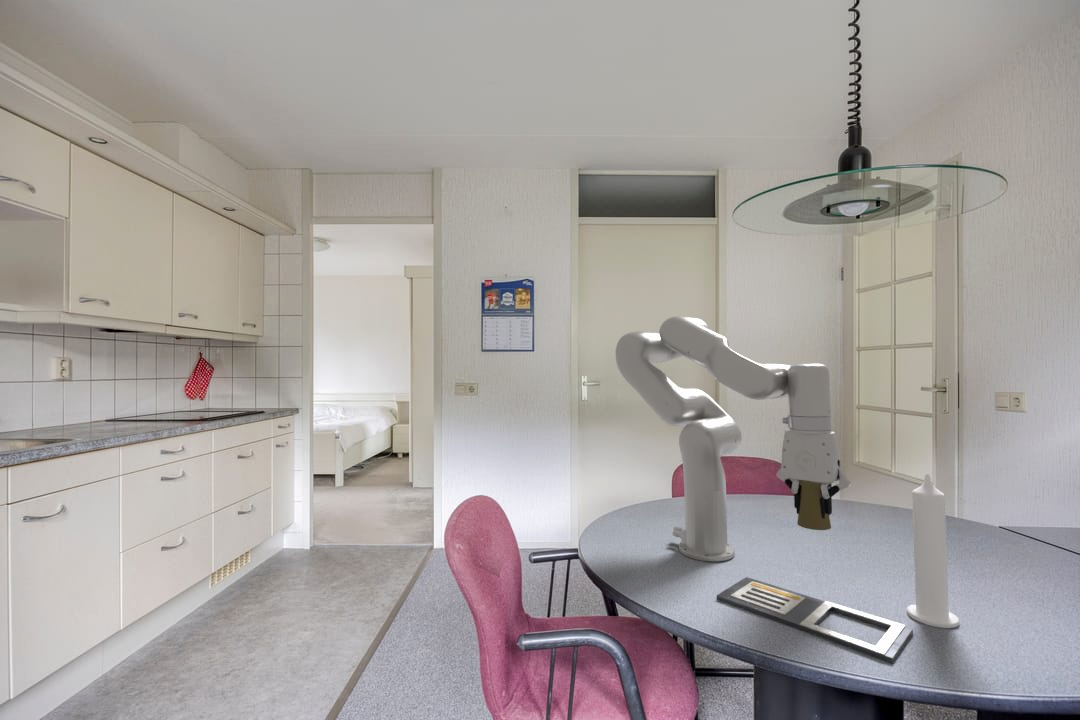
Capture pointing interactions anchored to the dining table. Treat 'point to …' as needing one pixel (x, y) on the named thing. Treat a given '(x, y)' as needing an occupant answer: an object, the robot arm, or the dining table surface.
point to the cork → (812, 507)
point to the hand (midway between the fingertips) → (813, 513)
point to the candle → (930, 558)
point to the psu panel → (814, 616)
